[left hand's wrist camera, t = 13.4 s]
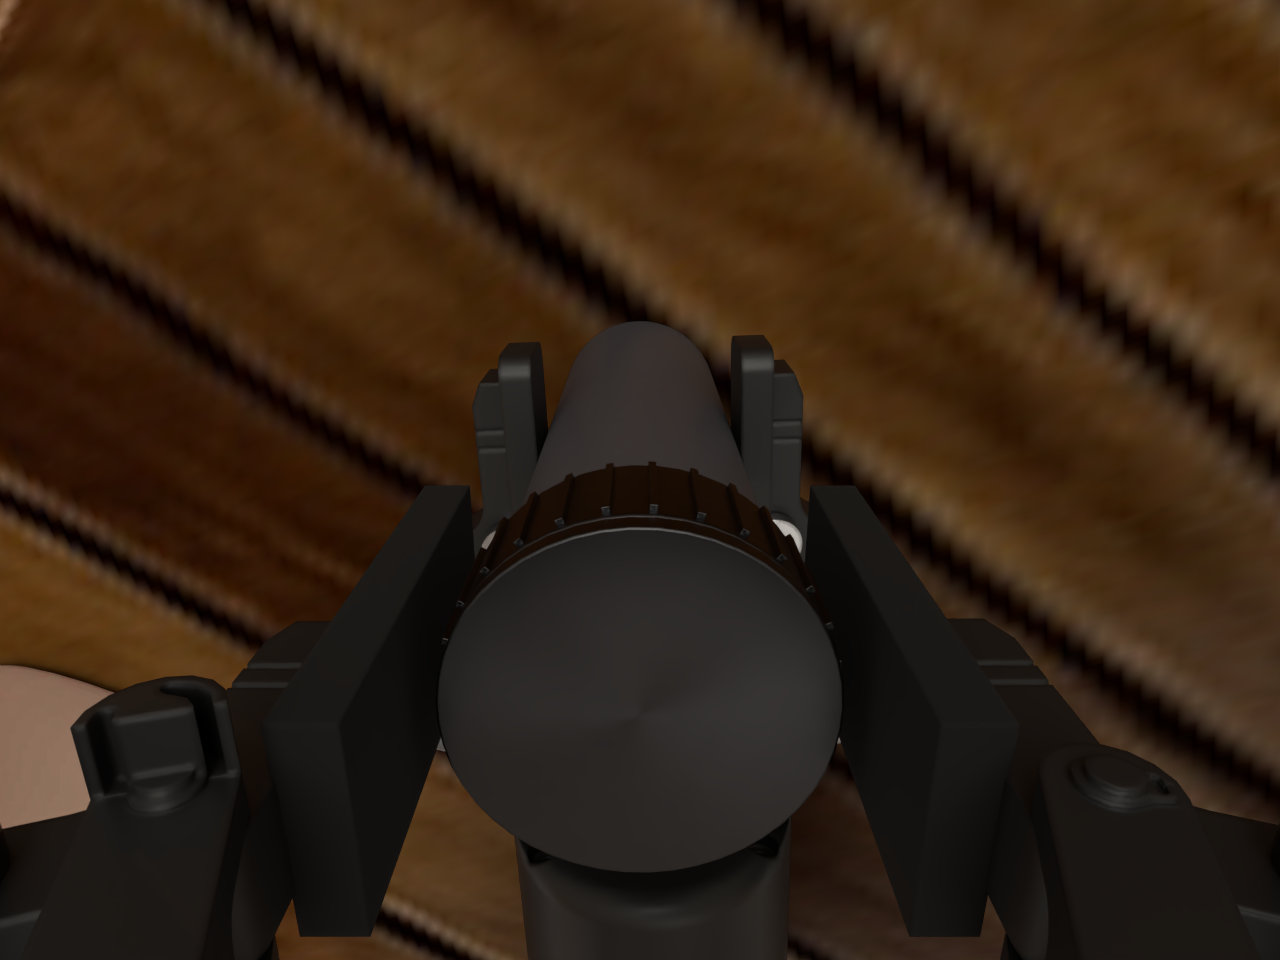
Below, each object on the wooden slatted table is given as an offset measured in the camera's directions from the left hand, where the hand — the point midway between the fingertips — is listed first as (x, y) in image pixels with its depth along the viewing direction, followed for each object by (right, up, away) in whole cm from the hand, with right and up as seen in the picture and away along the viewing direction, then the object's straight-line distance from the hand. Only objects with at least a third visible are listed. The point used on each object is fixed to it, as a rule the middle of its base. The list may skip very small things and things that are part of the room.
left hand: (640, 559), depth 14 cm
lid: (0, -1, -4) cm, 4 cm away
